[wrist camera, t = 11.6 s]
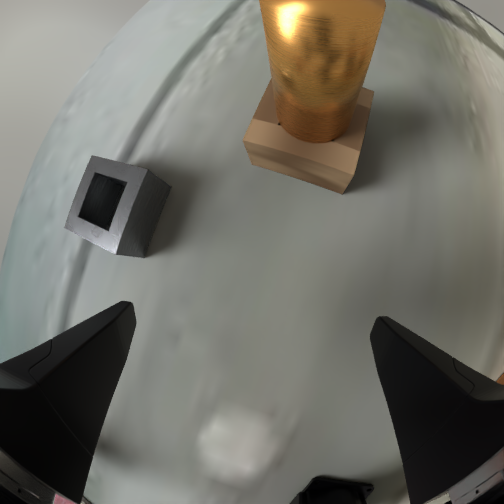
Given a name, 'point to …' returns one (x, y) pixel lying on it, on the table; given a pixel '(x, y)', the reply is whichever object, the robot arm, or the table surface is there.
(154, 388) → the table surface
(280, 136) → the wooden square ring
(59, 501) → the dish towel
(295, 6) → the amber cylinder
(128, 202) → the block
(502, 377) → the whiskey bottle
